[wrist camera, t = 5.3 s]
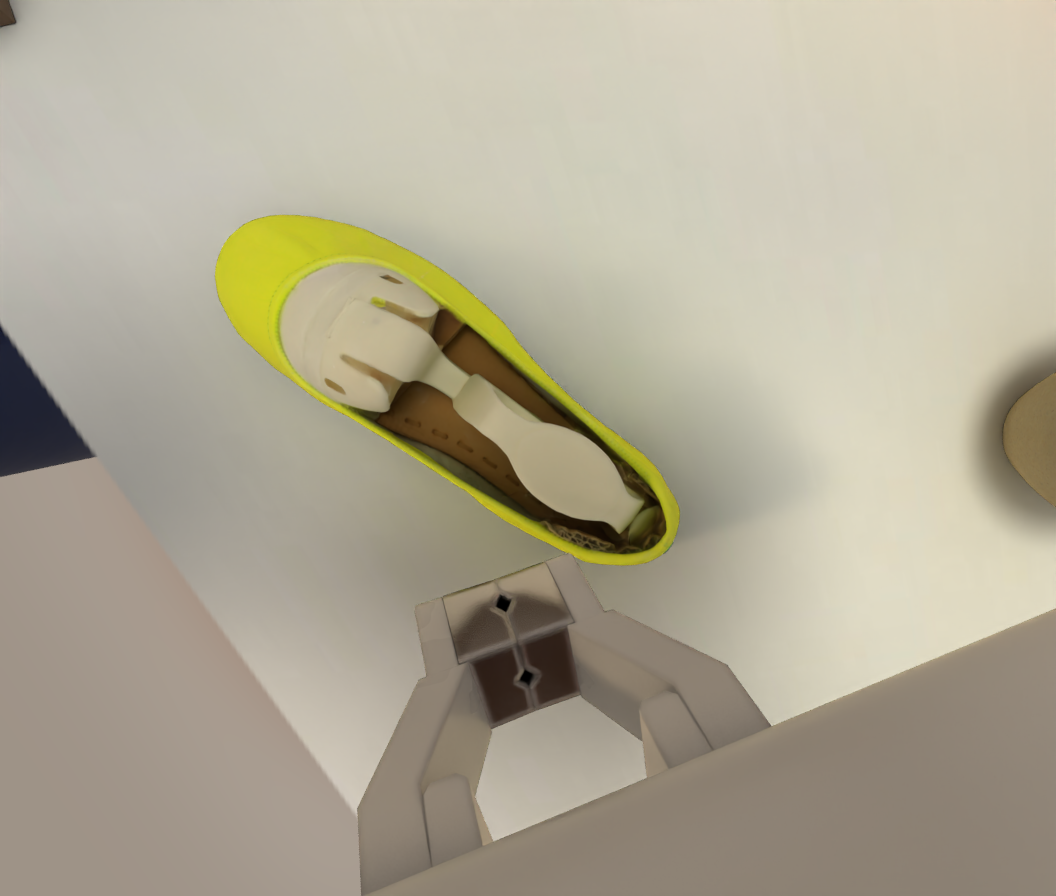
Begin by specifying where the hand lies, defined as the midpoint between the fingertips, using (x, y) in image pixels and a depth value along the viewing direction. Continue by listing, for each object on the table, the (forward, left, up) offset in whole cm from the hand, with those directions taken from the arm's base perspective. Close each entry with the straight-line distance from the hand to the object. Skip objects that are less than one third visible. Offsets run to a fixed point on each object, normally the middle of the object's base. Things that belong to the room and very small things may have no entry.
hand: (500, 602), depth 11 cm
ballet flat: (0, +4, -20) cm, 20 cm away
